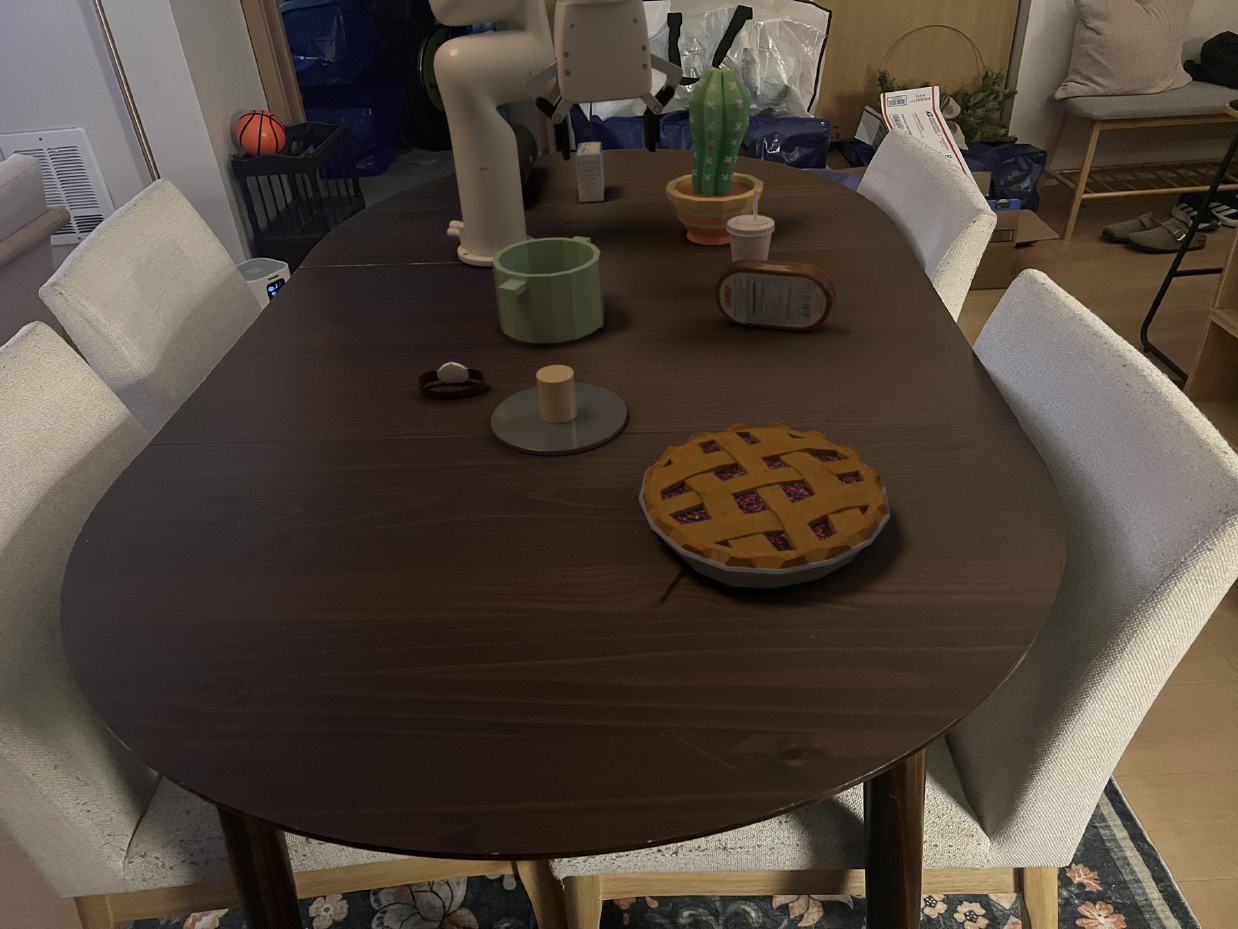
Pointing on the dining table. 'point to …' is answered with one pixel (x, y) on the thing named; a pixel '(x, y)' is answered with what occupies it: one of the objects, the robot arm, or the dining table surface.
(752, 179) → the potted cactus
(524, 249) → the pot
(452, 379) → the watch
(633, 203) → the dining table surface
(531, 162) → the portable speaker
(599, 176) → the medicine box
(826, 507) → the pie
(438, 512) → the dining table surface
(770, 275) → the tin
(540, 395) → the lid
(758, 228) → the smoothie
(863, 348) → the dining table surface
